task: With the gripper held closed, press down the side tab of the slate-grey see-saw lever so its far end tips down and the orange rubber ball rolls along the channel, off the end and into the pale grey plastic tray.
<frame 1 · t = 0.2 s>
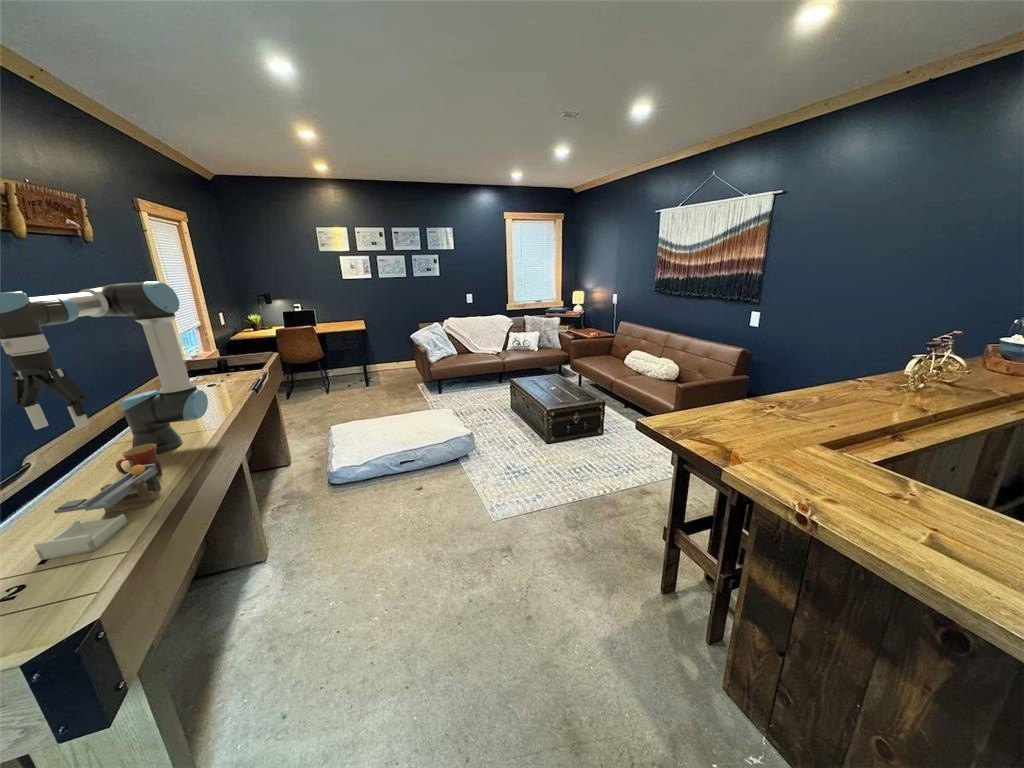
hand: (62, 427, 110), 27 cm above the table, fingers open, 13 cm apart
tray: (87, 540, 105), on the table
fulcrum: (131, 505, 120), on the table
ball: (138, 470, 124), point 8 cm above the table, touching lever
lever: (107, 487, 117), point 7 cm above the table, hinge at 0.0°, touching ball
mug: (144, 478, 137), on the table
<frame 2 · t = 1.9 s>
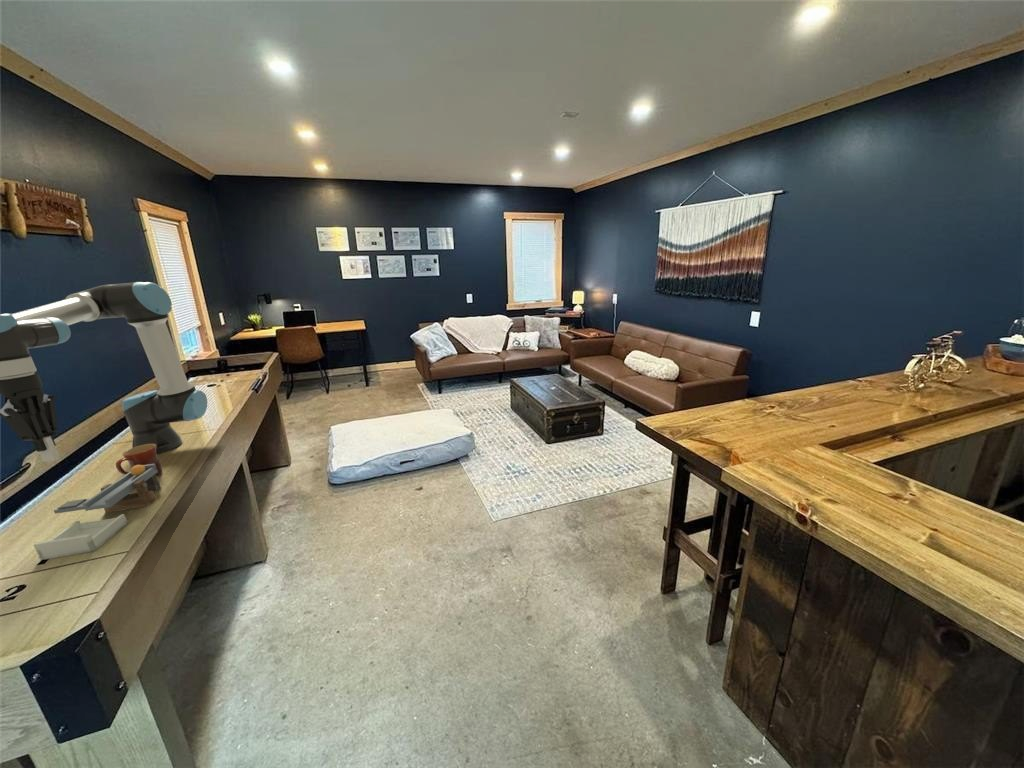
hand: (51, 460, 107), 20 cm above the table, fingers closed
nothing on the table moved.
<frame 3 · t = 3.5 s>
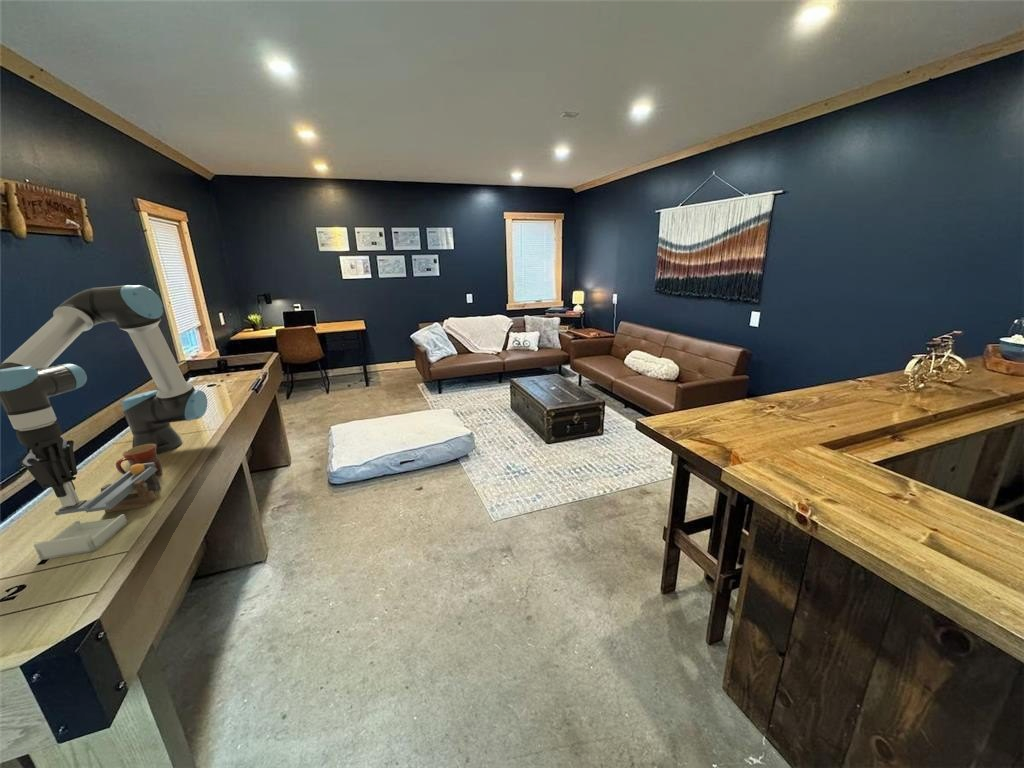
hand: (71, 504, 110), 7 cm above the table, fingers closed
lever: (107, 487, 117), point 7 cm above the table, hinge at 3.5°, touching ball, gripper
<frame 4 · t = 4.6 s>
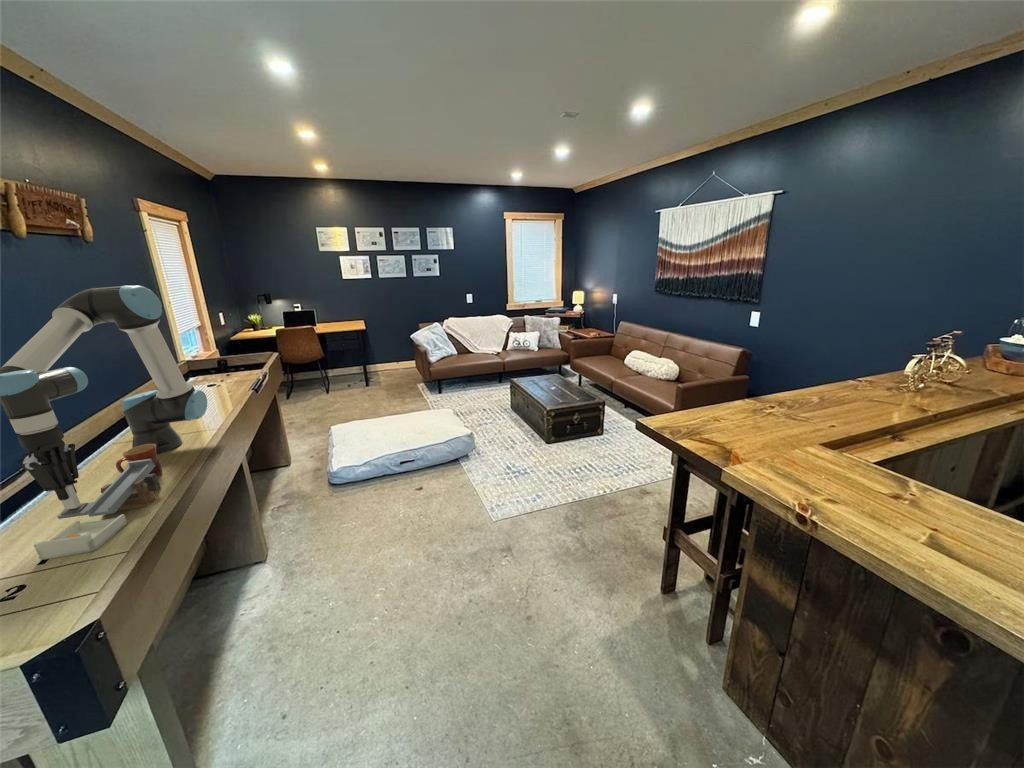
hand: (73, 507, 110), 6 cm above the table, fingers closed
ball: (73, 541, 101), point 2 cm above the table, tilted 149°, touching tray
lever: (107, 487, 117), point 7 cm above the table, hinge at 12.7°, touching gripper
everything else where it was.
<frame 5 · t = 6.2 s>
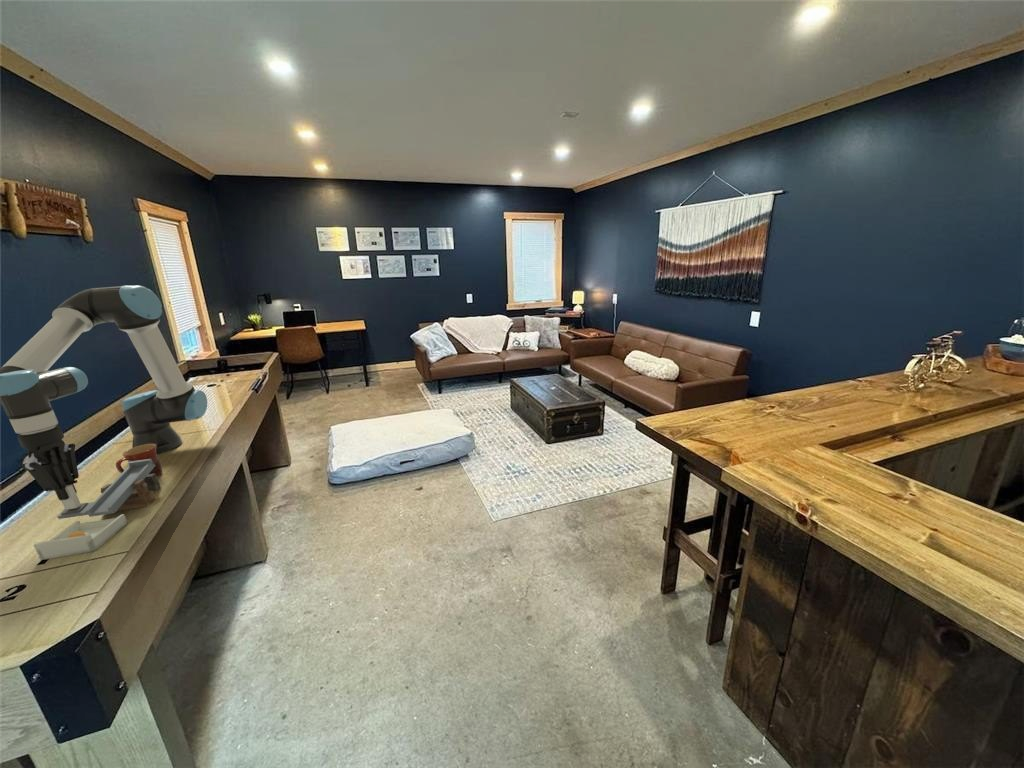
hand: (73, 507, 110), 6 cm above the table, fingers closed
ball: (76, 538, 102), point 2 cm above the table, tilted 179°, touching tray
everything else where it was.
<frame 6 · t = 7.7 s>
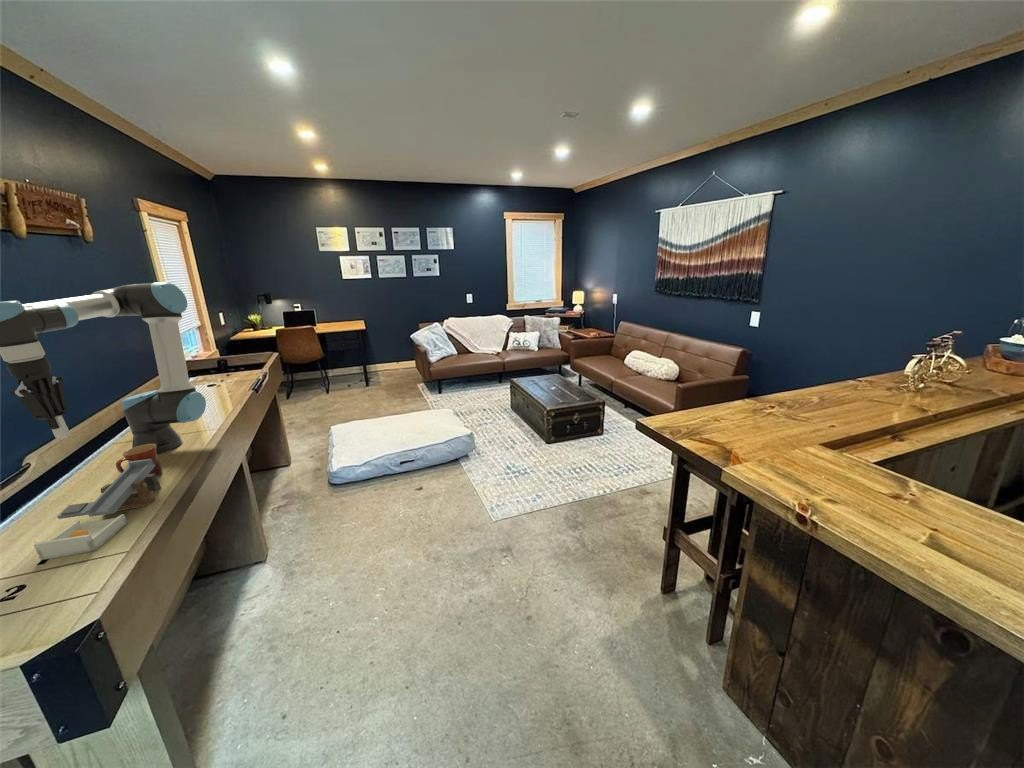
hand: (63, 437, 115), 23 cm above the table, fingers closed
ball: (79, 536, 103), point 2 cm above the table, tilted 149°, touching tray
lever: (107, 487, 117), point 7 cm above the table, hinge at 12.7°
everything else where it was.
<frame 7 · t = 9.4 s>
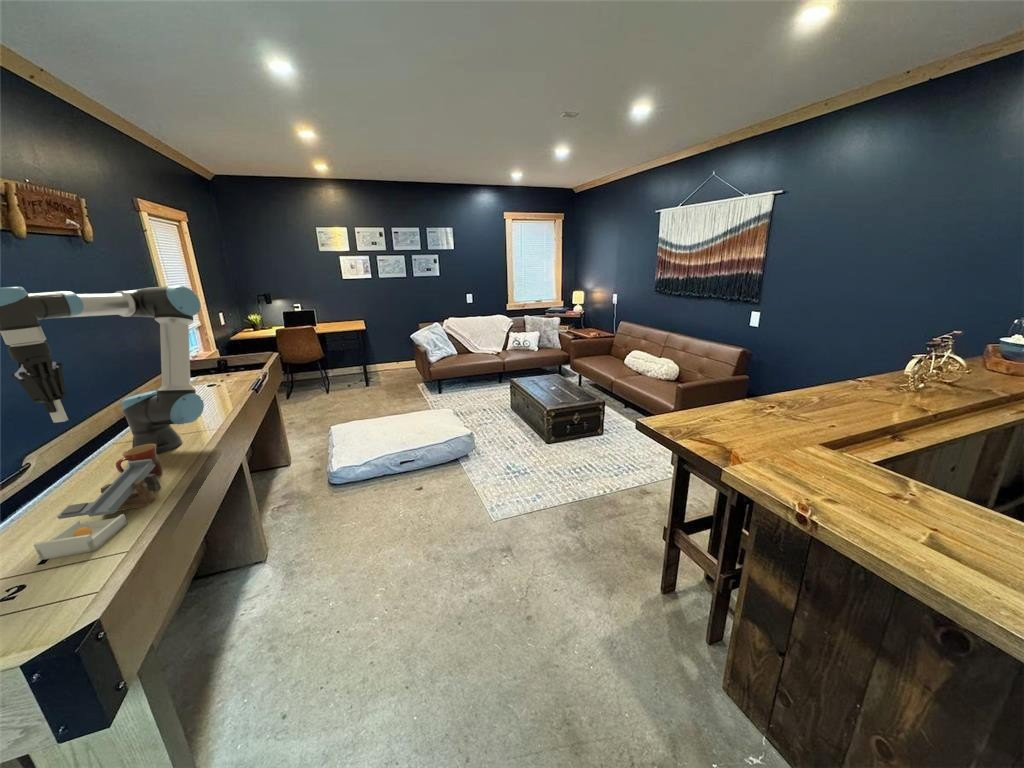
hand: (61, 421, 118), 26 cm above the table, fingers closed
ball: (82, 533, 104), point 2 cm above the table, tilted 115°, touching tray
everything else where it was.
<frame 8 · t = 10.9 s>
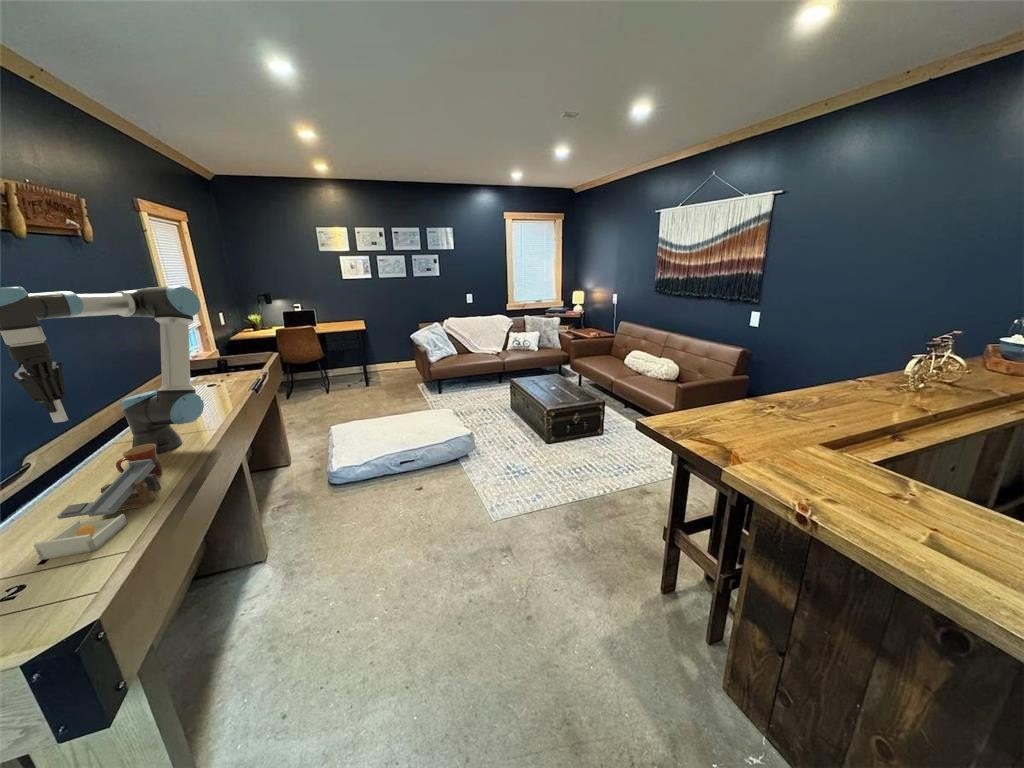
hand: (61, 421, 118), 26 cm above the table, fingers closed
ball: (85, 531, 105), point 2 cm above the table, tilted 85°, touching tray
everything else where it was.
at the end: ball inside the target area on the tray (0.7 cm from its centre), point 2.3 cm above the tray's base; lever tilted 13° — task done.
